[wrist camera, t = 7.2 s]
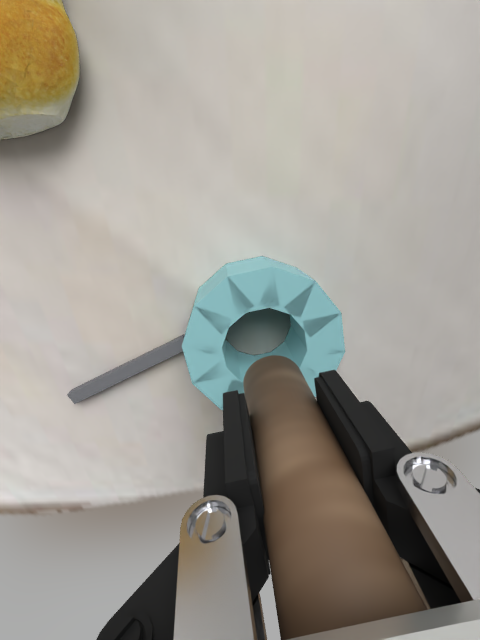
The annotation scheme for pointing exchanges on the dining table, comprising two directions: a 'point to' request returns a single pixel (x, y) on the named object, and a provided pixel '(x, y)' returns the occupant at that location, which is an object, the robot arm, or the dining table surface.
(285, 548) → the round-ended wooden dowel
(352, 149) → the dining table surface
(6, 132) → the bread roll
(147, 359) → the thin grey bar
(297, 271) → the bead
